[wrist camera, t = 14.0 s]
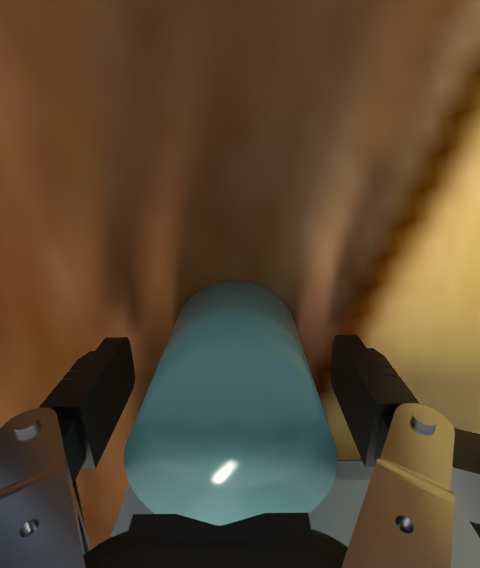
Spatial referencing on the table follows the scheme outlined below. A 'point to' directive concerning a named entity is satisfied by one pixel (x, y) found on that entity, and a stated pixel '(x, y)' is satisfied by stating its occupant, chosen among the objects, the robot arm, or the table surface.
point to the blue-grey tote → (339, 514)
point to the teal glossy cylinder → (231, 414)
